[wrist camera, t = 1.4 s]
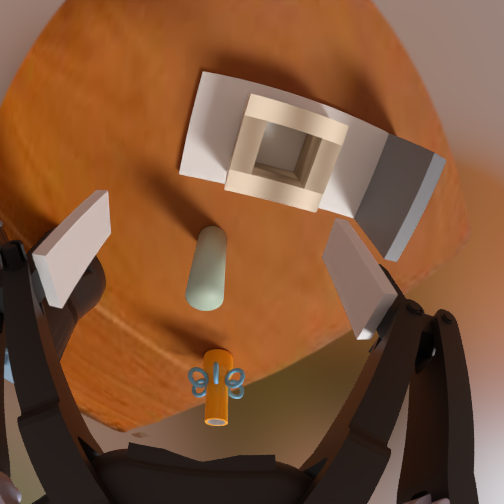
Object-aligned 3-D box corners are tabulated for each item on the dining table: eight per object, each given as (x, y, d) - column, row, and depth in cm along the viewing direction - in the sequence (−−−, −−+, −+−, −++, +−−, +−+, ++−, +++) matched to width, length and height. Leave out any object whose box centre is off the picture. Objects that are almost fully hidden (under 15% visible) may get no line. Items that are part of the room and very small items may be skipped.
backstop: (180, 172, 33) (157, 206, 24) (203, 71, 26) (187, 61, 17) (363, 219, 37) (396, 262, 28) (397, 137, 31) (446, 160, 22)
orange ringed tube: (189, 337, 50) (180, 407, 37) (244, 338, 50) (246, 409, 38) (196, 371, 56) (191, 431, 44) (243, 372, 57) (245, 433, 44)
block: (226, 172, 32) (224, 189, 27) (248, 93, 27) (251, 93, 22) (304, 192, 34) (315, 212, 29) (330, 119, 29) (348, 126, 24)
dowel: (196, 247, 39) (183, 306, 29) (201, 223, 37) (187, 278, 27) (223, 253, 40) (219, 313, 30) (229, 229, 38) (227, 286, 27)
